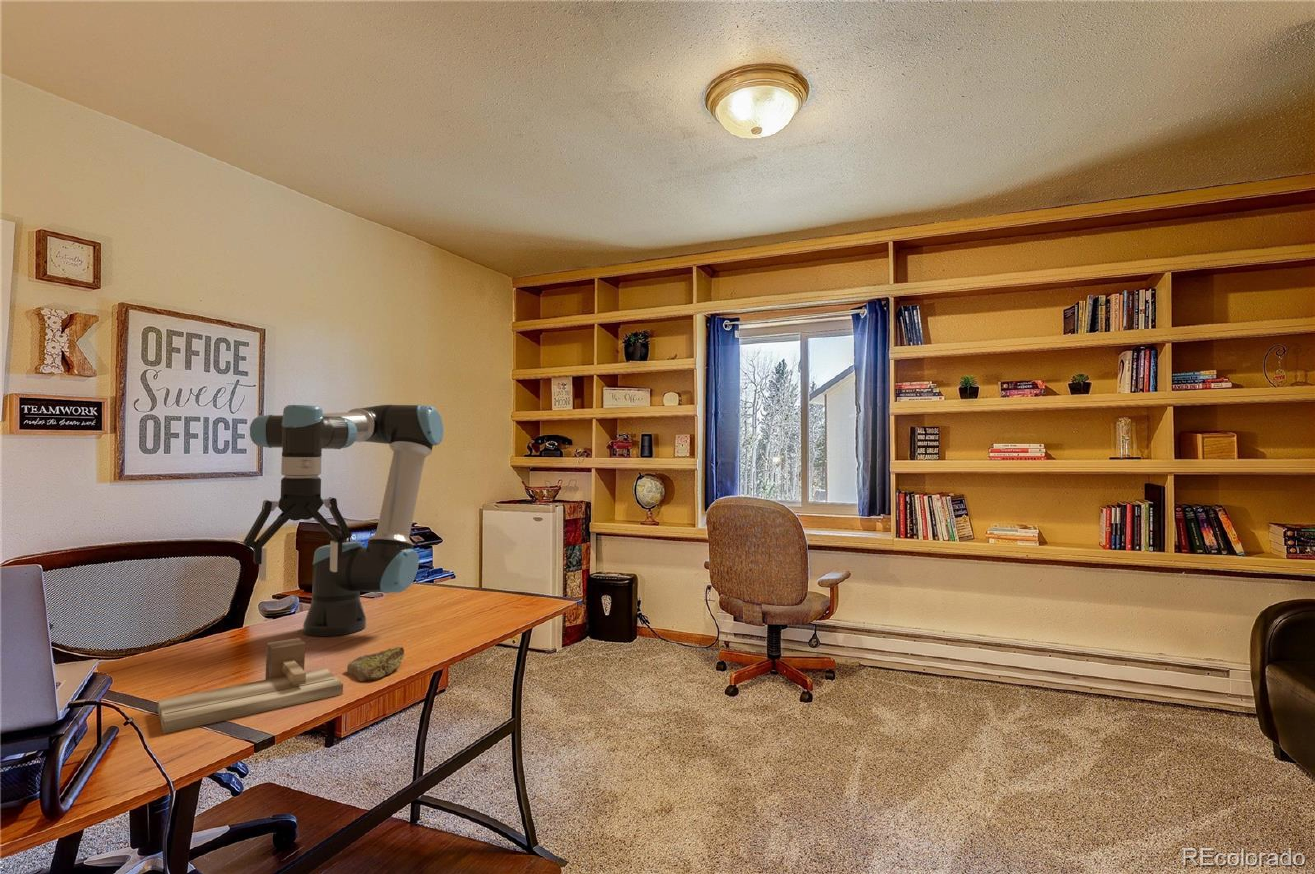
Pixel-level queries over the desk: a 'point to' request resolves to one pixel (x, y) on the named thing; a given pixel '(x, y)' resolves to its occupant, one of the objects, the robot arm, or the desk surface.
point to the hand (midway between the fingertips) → (299, 575)
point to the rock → (376, 664)
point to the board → (244, 700)
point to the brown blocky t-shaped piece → (286, 660)
